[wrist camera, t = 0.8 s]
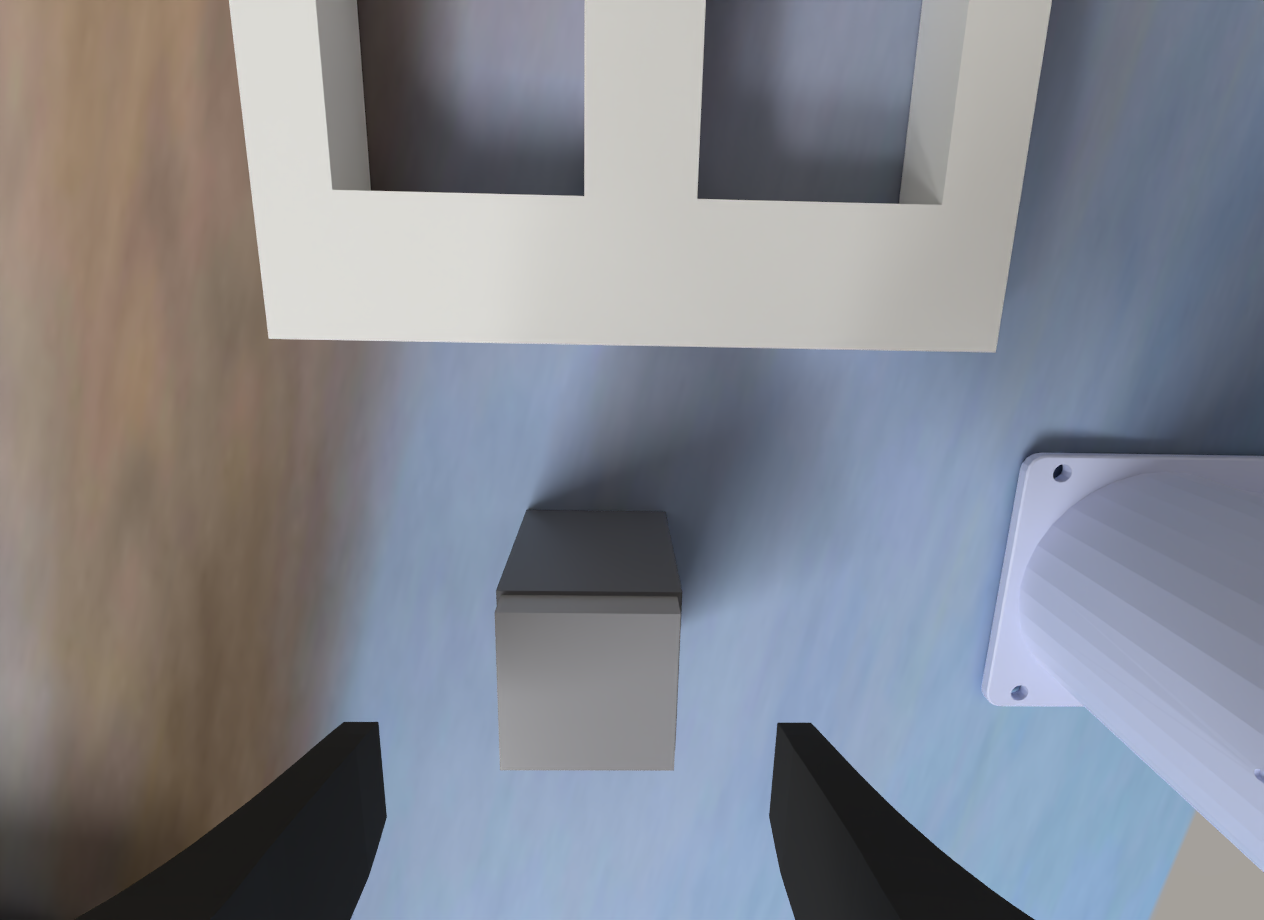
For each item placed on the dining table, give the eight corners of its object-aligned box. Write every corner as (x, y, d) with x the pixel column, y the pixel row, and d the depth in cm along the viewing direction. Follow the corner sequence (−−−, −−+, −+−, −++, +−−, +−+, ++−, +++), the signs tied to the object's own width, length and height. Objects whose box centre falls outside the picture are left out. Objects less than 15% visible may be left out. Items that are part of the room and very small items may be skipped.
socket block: (1022, -194, 15) (1104, -289, 13) (946, 341, 19) (1000, 353, 16) (259, -225, 15) (184, -330, 12) (314, 329, 18) (264, 339, 16)
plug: (665, 511, 20) (685, 609, 14) (660, 635, 21) (677, 774, 15) (526, 509, 20) (489, 608, 14) (529, 633, 21) (495, 774, 15)
